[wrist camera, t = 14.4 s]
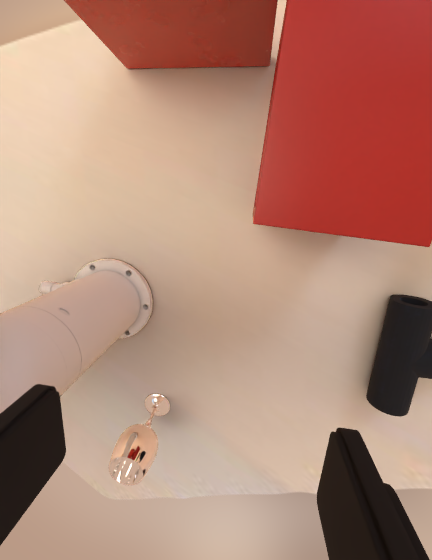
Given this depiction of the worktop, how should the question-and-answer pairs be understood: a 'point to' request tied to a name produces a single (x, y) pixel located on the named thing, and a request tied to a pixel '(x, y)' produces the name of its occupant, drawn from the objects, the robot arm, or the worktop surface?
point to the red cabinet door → (182, 31)
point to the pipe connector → (401, 354)
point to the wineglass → (137, 445)
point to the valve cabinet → (351, 122)
